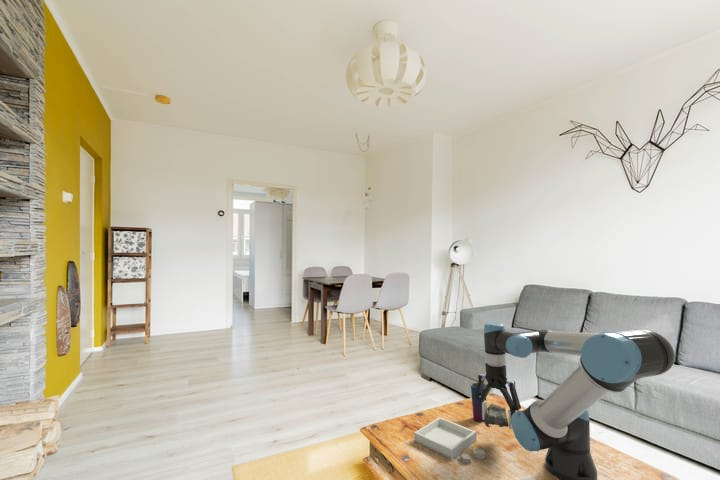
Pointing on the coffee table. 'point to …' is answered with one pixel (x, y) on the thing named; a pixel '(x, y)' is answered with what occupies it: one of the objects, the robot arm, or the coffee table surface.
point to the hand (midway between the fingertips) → (497, 422)
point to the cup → (476, 403)
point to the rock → (496, 416)
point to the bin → (445, 437)
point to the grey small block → (478, 453)
